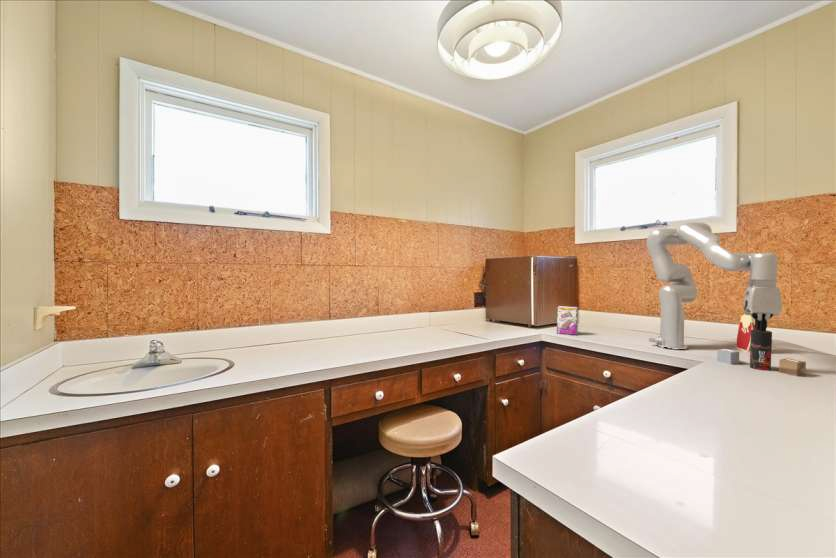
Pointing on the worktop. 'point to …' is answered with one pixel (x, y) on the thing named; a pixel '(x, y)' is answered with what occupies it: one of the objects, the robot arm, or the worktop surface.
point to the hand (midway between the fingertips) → (760, 329)
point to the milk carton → (745, 332)
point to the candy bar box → (567, 320)
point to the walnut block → (792, 367)
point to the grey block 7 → (728, 356)
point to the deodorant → (760, 350)
